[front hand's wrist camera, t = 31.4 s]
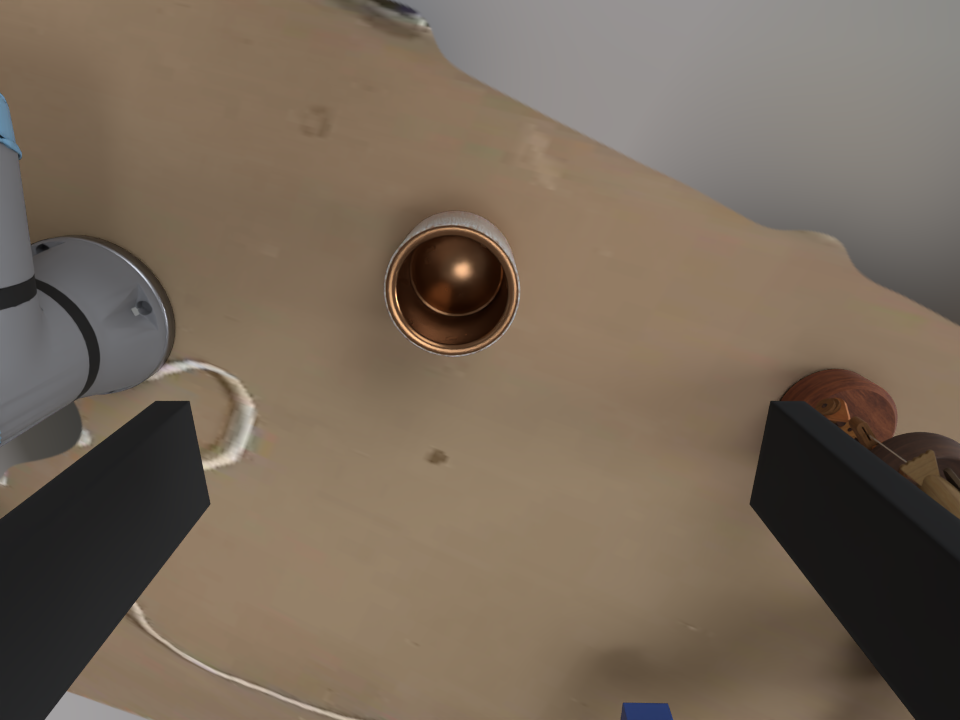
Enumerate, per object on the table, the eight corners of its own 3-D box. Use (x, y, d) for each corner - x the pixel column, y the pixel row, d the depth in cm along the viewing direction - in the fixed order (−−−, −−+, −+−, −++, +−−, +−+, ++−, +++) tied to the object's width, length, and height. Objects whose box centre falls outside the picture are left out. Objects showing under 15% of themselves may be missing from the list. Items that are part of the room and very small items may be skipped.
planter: (525, 221, 50) (534, 235, 41) (502, 332, 54) (507, 368, 45) (407, 199, 50) (390, 209, 41) (392, 314, 53) (374, 346, 44)
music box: (737, 424, 58) (878, 537, 38) (808, 339, 55) (997, 413, 36) (840, 493, 61) (1019, 630, 41) (912, 415, 58) (1137, 521, 39)
